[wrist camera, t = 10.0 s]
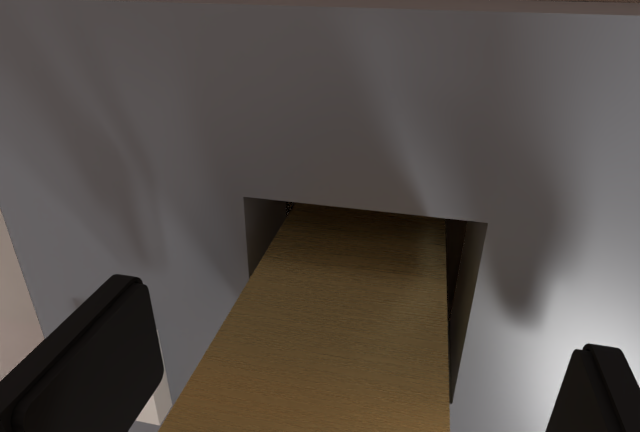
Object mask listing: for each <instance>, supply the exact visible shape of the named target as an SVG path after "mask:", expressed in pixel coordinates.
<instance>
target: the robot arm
mask: <svg viewBox="0 0 640 432" xmlns="http://www.w3.org/2000/svg"><path fill="white" fill-rule="evenodd" d="M163 374H164V365H163V360H162V355H161V350H160V345H159V340H158V335H157V329H156V324H155V319H154V314H153V309H152V304H151V299H150V294H149V289H148V287H147V285H145V284H143V282H142V280H141V279H140V278H139V277H134V276H127V275H121V274H114V275H112V276H111V277H110V278H109V279H108V280H107V281H105V282H104V283H103V284H102V285H101V286H100V287H99V288H98V289H97V290H96V291H95V292H94V293H93V294H92V295H91V296H90V297H89V298H88V299H87V300H85V301H84V302H83V303H82V304H81V305H80V306H79V307H78V308H77V309H76V310H75V311H74V312H73V313H72V314H71V315H70V316H69V317H68V318H67V319H66V320H64V321H63V322H62V323H61V324H60V325H59V326H58V327H57V328H56V329H55V330H54V331H53V332H52V333H51V334H50V335H49V336H48V337H47V338H46V339H44V340H43V341H42V342H41V343H40V344H39V345H38V346H37V347H36V348H35V349H34V350H33V351H32V352H31V353H30V354H29V355H28V356H27V357H26V358H25V359H23V360H22V361H21V362H20V363H19V364H18V365H17V366H16V367H15V368H14V369H13V370H12V371H11V372H10V373H9V374H8V375H7V376H6V377H5V378H3V379H2V380H1V381H0V432H128V431H129V429H130V428H131V426H132V425H133V423H134V422H135V420H136V419H137V417H138V416H139V414H140V413H141V411H142V410H143V408H144V407H145V405H146V404H147V402H148V401H149V399H150V398H151V396H152V395H153V393H154V392H155V390H156V389H157V387H158V386H159V384H160V382H161V380H162V378H163ZM545 432H640V387H639V385H638V383H637V381H636V379H635V377H634V375H633V372H632V370H631V368H630V366H629V364H628V362H627V360H626V358H625V355H624V353H623V352H622V350H621V349H619V348H617V347H610V346H603V345H596V344H590V343H588V344H585V345H584V347H583V349H582V350H580V349H575V350H574V351H573V353H572V355H571V358H570V361H569V364H568V367H567V370H566V373H565V376H564V379H563V381H562V384H561V387H560V390H559V393H558V396H557V399H556V402H555V405H554V408H553V411H552V414H551V416H550V419H549V422H548V425H547V428H546V431H545Z"/></svg>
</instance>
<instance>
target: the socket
mask: <svg viewBox="0 0 640 432" xmlns="http://www.w3.org/2000/svg"><path fill="white" fill-rule="evenodd" d="M286 201H288V202H298V203H307V204H316V205H326V206H335V207H344V208H354V209H363V210H372V211H381V212H391V213H400V214H409V215H419V216H428V217H437V218H446V219H456V220H465V221H467V226H466V231H465V237H464V243H463V248H462V254H461V260H460V266H459V271H458V277H457V283H456V288H455V294H454V300H453V306H452V311H451V317H450V321H448V320H447V322H448V365H449V408H450V432H545V431H546V428H547V425H548V422H549V419H550V416H551V414H552V411H553V408H554V405H555V402H556V399H557V396H558V393H559V390H560V387H561V384H562V381H563V379H564V376H565V373H566V370H567V367H568V364H569V361H570V358H571V355H572V353H573V351H574V350H575V349H580V350H582V349H583V347H584V345H585V344H588V343H590V344H596V345H603V346H610V347H617V348H619V349H621V350H622V352H623V353H624V355H625V358H626V360H627V362H628V364H629V366H630V368H631V370H632V372H633V375H634V377H635V379H636V381H637V383H638V385H639V387H640V3H628V2H586V1H544V0H0V209H1V212H2V215H3V217H4V220H5V223H6V226H7V229H8V232H9V235H10V238H11V241H12V244H13V247H14V250H15V253H16V256H17V259H18V261H19V264H20V267H21V270H22V273H23V276H24V279H25V282H26V285H27V288H28V291H29V294H30V297H31V300H32V302H33V305H34V308H35V311H36V314H37V317H38V320H39V323H40V326H41V329H42V332H43V335H44V338H45V339H46V338H47V337H48V336H49V335H50V334H51V333H52V332H53V331H54V330H55V329H56V328H57V327H58V326H59V325H60V324H61V323H62V322H63V321H64V320H66V319H67V318H68V317H69V316H70V315H71V314H72V313H73V312H74V311H75V310H76V309H77V308H78V307H79V306H80V305H81V304H82V303H83V302H84V301H85V300H87V299H88V298H89V297H90V296H91V295H92V294H93V293H94V292H95V291H96V290H97V289H98V288H99V287H100V286H101V285H102V284H103V283H104V282H105V281H107V280H108V279H109V278H110V277H111V276H112V275H114V274H121V275H127V276H134V277H139V278H140V279H141V280H142V282H143V284H145V285H147V287H148V289H149V294H150V299H151V304H152V309H153V314H154V319H155V324H156V329H157V335H158V340H159V345H160V350H161V355H162V360H163V365H164V374H163V378H162V380H161V382H160V384H159V386H158V387H157V389H156V390H155V392H154V393H153V395H152V396H151V398H150V399H149V401H148V402H147V404H146V405H145V407H144V408H143V410H142V411H141V413H140V414H139V416H138V417H137V419H136V420H135V422H134V423H133V425H132V426H131V428H130V429H129V431H128V432H158V430H159V429H160V427H161V425H162V424H163V422H164V420H165V419H166V417H167V415H168V414H169V412H170V410H171V409H172V407H173V405H174V404H175V402H176V400H177V399H178V397H179V395H180V394H181V392H182V390H183V389H184V387H185V385H186V384H187V382H188V380H189V379H190V377H191V375H192V374H193V372H194V370H195V369H196V367H197V365H198V364H199V362H200V360H201V359H202V357H203V355H204V354H205V352H206V350H207V349H208V347H209V345H210V344H211V342H212V340H213V339H214V337H215V335H216V334H217V332H218V330H219V329H220V327H221V325H222V324H223V322H224V320H225V319H226V317H227V316H228V314H229V312H230V311H231V309H232V307H233V306H234V304H235V302H236V301H237V299H238V297H239V296H240V294H241V292H242V291H243V289H244V287H245V286H246V284H247V282H248V281H249V279H250V277H251V276H252V274H253V272H254V271H255V269H256V267H257V266H258V264H259V262H260V261H261V259H262V257H263V256H264V254H265V252H266V251H267V249H268V247H269V246H270V244H271V242H272V241H273V239H274V237H275V236H276V234H277V232H278V231H279V229H280V227H281V226H282V224H283V222H284V221H285V219H286Z"/></svg>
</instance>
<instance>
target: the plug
mask: <svg viewBox="0 0 640 432" xmlns="http://www.w3.org/2000/svg"><path fill="white" fill-rule="evenodd" d="M158 432H450V408H449V365H448V322H447V279H446V236H445V218H437V217H428V216H419V215H409V214H400V213H391V212H381V211H372V210H363V209H354V208H344V207H335V206H326V205H316V204H307V203H298V202H295V204H294V206H293V207H292V209H291V211H290V212H289V214H288V216H287V217H286V219H285V221H284V222H283V224H282V226H281V227H280V229H279V231H278V232H277V234H276V236H275V237H274V239H273V241H272V242H271V244H270V246H269V247H268V249H267V251H266V252H265V254H264V256H263V257H262V259H261V261H260V262H259V264H258V266H257V267H256V269H255V271H254V272H253V274H252V276H251V277H250V279H249V281H248V282H247V284H246V286H245V287H244V289H243V291H242V292H241V294H240V296H239V297H238V299H237V301H236V302H235V304H234V306H233V307H232V309H231V311H230V312H229V314H228V316H227V317H226V319H225V320H224V322H223V324H222V325H221V327H220V329H219V330H218V332H217V334H216V335H215V337H214V339H213V340H212V342H211V344H210V345H209V347H208V349H207V350H206V352H205V354H204V355H203V357H202V359H201V360H200V362H199V364H198V365H197V367H196V369H195V370H194V372H193V374H192V375H191V377H190V379H189V380H188V382H187V384H186V385H185V387H184V389H183V390H182V392H181V394H180V395H179V397H178V399H177V400H176V402H175V404H174V405H173V407H172V409H171V410H170V412H169V414H168V415H167V417H166V419H165V420H164V422H163V424H162V425H161V427H160V429H159V430H158Z"/></svg>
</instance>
